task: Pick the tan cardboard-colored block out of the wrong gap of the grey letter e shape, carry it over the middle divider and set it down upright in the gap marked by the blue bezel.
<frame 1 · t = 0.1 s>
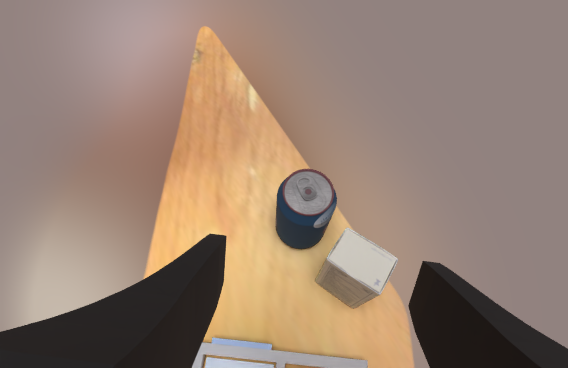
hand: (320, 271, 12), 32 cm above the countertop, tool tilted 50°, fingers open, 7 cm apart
soda can: (299, 228, 46), on the countertop
skincare box: (340, 282, 43), on the countertop
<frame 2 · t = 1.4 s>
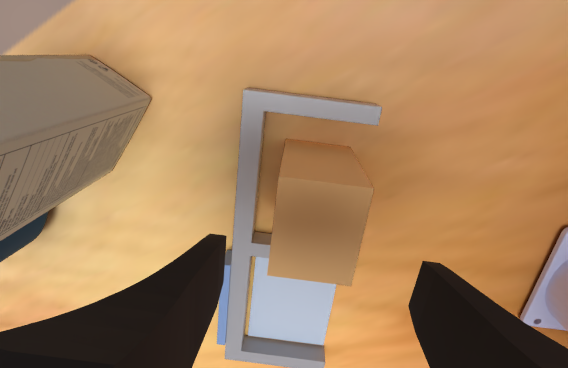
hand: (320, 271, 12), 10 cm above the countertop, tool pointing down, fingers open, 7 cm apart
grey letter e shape: (294, 243, 22), on the countertop
tan cardboard-colored block: (312, 180, 21), on the countertop
soda can: (11, 192, 22), on the countertop
skincare box: (104, 118, 20), on the countertop
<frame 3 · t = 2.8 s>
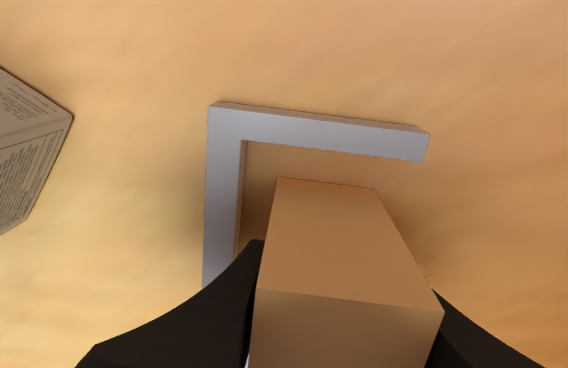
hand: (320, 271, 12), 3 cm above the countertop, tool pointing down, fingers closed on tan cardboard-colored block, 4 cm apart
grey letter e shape: (291, 317, 16), on the countertop
tan cardboard-colored block: (316, 235, 14), on the countertop, touching gripper
skincare box: (8, 146, 14), on the countertop
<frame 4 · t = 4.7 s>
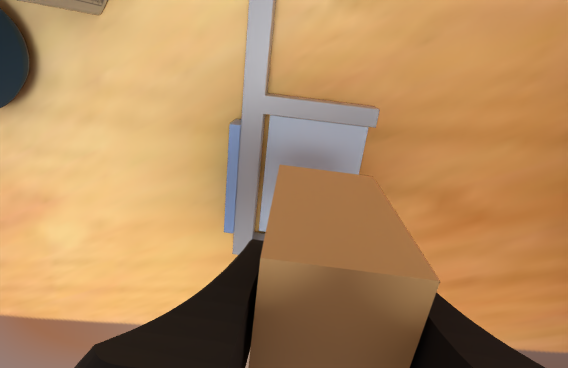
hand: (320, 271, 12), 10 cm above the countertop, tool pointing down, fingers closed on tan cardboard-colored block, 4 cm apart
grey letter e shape: (314, 107, 19), on the countertop
tan cardboard-colored block: (317, 222, 15), point 7 cm above the countertop, touching gripper
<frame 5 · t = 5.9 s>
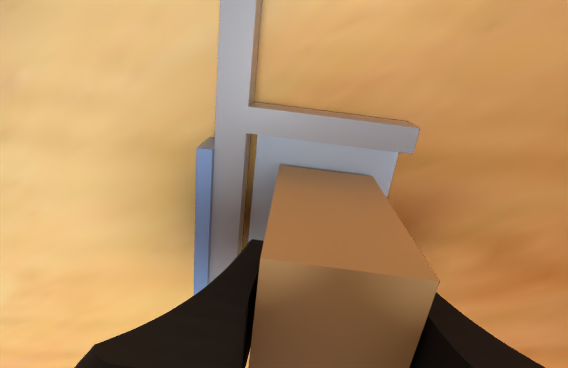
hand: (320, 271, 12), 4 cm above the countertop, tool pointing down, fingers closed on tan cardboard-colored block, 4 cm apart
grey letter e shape: (321, 122, 13), on the countertop
tan cardboard-colored block: (317, 222, 15), point 1 cm above the countertop, touching gripper
when the fingers open (3 cm above the countertop, at t = 6.4 s): tan cardboard-colored block stays where it is, resting on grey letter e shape.
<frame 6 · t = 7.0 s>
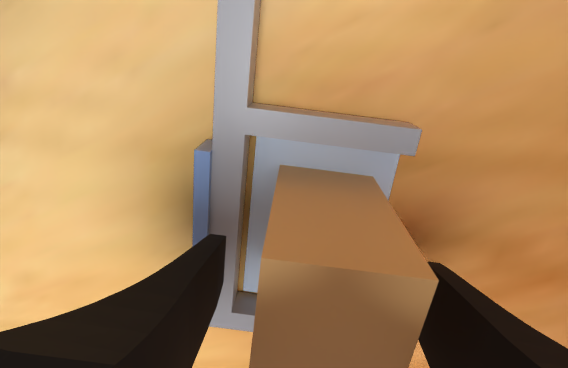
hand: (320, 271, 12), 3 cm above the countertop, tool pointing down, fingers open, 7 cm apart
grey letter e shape: (321, 123, 13), on the countertop
tan cardboard-colored block: (317, 222, 15), resting on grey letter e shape
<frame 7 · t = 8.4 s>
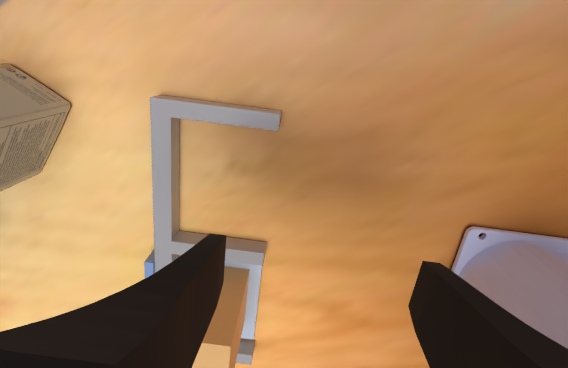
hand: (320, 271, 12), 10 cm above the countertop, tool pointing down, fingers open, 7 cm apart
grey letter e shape: (218, 241, 24), on the countertop
tan cardboard-colored block: (221, 292, 25), resting on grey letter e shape
skincare box: (29, 123, 21), on the countertop
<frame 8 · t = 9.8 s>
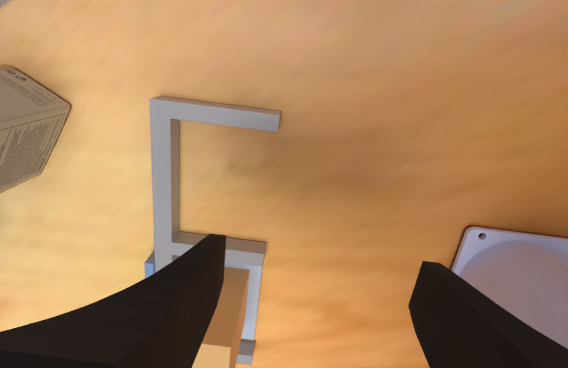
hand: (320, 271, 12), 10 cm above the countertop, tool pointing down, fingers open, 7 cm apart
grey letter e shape: (218, 242, 24), on the countertop
tan cardboard-colored block: (221, 293, 25), resting on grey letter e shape
skincare box: (30, 125, 21), on the countertop
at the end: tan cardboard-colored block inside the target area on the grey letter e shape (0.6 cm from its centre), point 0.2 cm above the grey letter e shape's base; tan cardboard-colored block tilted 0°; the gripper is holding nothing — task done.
